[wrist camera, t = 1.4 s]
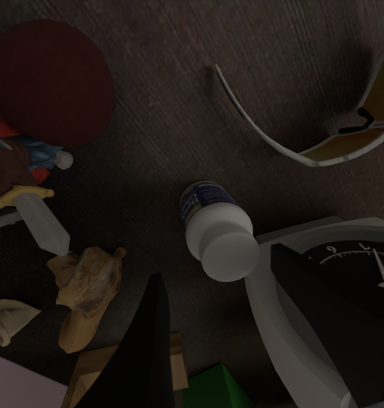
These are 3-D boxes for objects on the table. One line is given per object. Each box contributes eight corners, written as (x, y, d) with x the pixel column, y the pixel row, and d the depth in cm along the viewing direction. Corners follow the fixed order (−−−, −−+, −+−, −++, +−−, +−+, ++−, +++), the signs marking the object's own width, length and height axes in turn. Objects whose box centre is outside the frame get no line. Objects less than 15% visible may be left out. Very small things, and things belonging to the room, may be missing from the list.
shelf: (179, 331, 29) (186, 402, 22) (186, 364, 32) (193, 436, 25) (80, 352, 28) (51, 435, 20) (96, 385, 31) (76, 467, 24)
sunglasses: (304, 184, 23) (336, 195, 18) (197, 94, 20) (201, 78, 15) (409, 68, 19) (481, 44, 15) (301, -60, 16) (349, -143, 12)
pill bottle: (182, 176, 21) (199, 218, 12) (231, 182, 22) (281, 225, 13) (175, 223, 22) (185, 290, 14) (221, 226, 23) (258, 291, 15)
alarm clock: (364, 196, 25) (962, 414, 6) (355, 251, 28) (730, 499, 10) (225, 232, 24) (451, 616, 5) (233, 285, 27) (389, 633, 9)
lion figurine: (80, 212, 20) (26, 273, 12) (134, 221, 22) (117, 281, 13) (72, 316, 25) (28, 411, 17) (116, 319, 26) (95, 408, 18)
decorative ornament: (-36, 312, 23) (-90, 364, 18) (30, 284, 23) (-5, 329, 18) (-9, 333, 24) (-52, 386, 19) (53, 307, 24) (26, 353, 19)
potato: (-71, -21, 10) (5, 77, 16) (-38, 125, 9) (31, 174, 15) (88, -14, 12) (103, 69, 18) (129, 103, 11) (131, 153, 17)
